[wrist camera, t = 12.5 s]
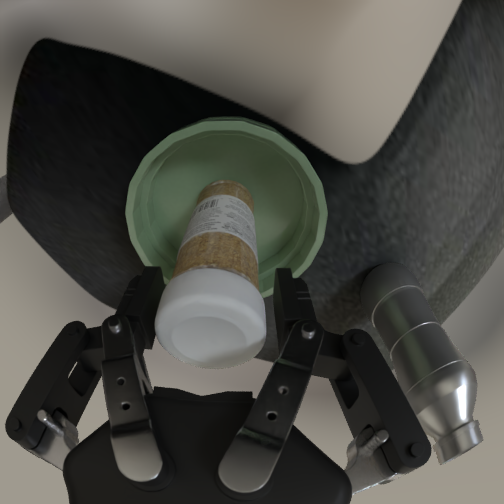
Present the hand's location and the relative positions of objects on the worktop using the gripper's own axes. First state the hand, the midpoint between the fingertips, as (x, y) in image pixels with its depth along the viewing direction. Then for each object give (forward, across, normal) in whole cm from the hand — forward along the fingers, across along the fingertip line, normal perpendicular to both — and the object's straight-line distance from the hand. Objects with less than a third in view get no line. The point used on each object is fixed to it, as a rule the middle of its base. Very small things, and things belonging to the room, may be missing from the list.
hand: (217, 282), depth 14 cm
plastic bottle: (+10, -16, +8) cm, 21 cm away
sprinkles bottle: (+10, 0, 0) cm, 10 cm away
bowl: (+10, 0, 0) cm, 10 cm away
